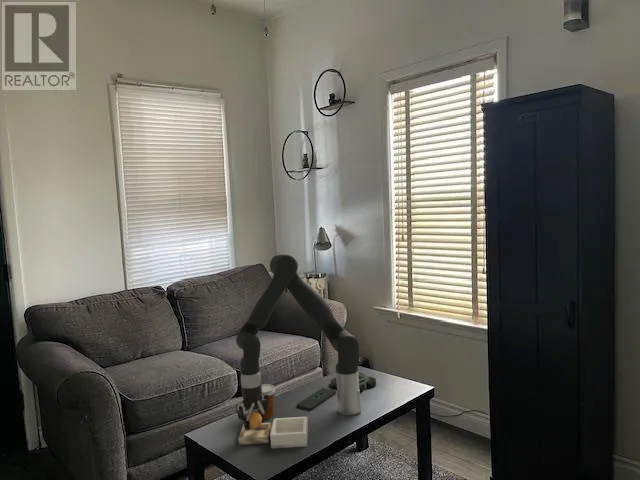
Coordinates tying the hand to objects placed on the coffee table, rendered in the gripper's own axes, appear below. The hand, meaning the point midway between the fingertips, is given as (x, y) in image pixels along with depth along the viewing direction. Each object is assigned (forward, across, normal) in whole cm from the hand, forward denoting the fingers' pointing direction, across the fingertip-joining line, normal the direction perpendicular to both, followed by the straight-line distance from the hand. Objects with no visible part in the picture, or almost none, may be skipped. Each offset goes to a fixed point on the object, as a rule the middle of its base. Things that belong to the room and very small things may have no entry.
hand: (254, 425), depth 185 cm
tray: (+4, 0, 0) cm, 4 cm away
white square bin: (+4, -8, +12) cm, 15 cm away
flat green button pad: (+5, -60, -2) cm, 60 cm away
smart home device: (+5, -37, -4) cm, 38 cm away
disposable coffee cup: (+4, -14, -10) cm, 18 cm away
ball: (-2, 0, 0) cm, 2 cm away
